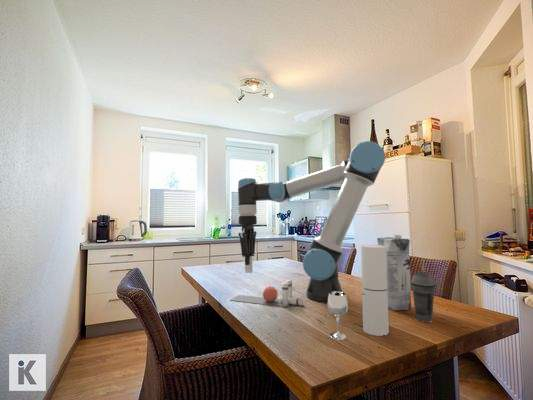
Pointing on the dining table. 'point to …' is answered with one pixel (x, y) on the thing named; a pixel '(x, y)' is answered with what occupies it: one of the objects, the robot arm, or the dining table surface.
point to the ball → (270, 294)
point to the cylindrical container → (374, 289)
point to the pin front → (294, 301)
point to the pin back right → (289, 288)
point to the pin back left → (285, 294)
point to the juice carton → (397, 272)
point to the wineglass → (337, 310)
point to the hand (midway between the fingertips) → (248, 272)
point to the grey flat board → (256, 300)
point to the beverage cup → (423, 295)
